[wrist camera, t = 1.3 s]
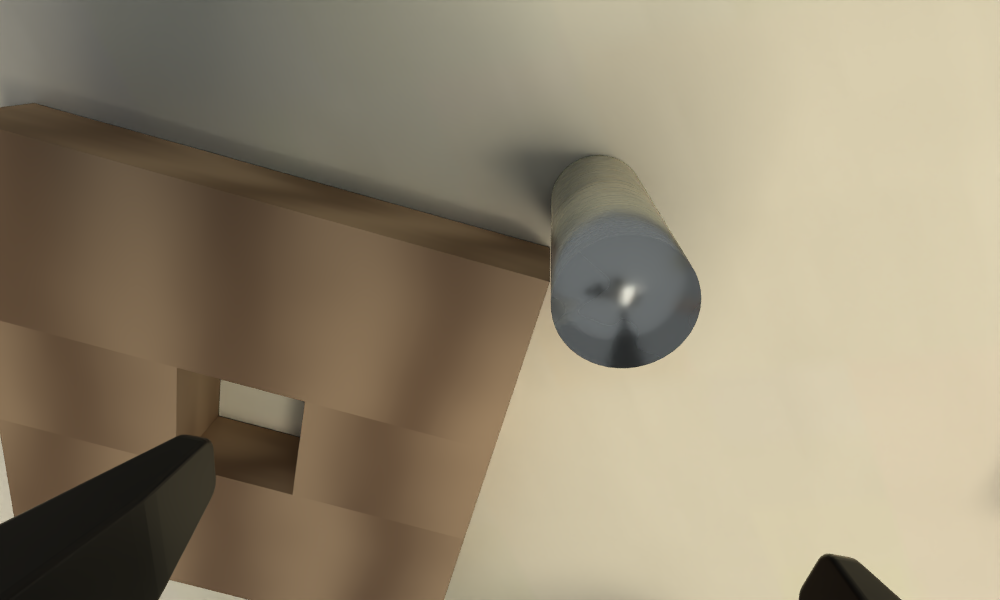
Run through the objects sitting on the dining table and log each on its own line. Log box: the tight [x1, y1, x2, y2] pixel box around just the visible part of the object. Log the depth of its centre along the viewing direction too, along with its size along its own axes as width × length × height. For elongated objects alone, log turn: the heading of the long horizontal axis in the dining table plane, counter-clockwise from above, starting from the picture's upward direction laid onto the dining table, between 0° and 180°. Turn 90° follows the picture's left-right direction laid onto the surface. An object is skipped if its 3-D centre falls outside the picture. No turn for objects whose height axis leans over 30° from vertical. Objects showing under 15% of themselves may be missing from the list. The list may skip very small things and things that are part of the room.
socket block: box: [0, 103, 550, 600], centre depth 22 cm, size 18×18×3 cm
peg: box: [551, 155, 701, 368], centre depth 15 cm, size 3×3×8 cm
